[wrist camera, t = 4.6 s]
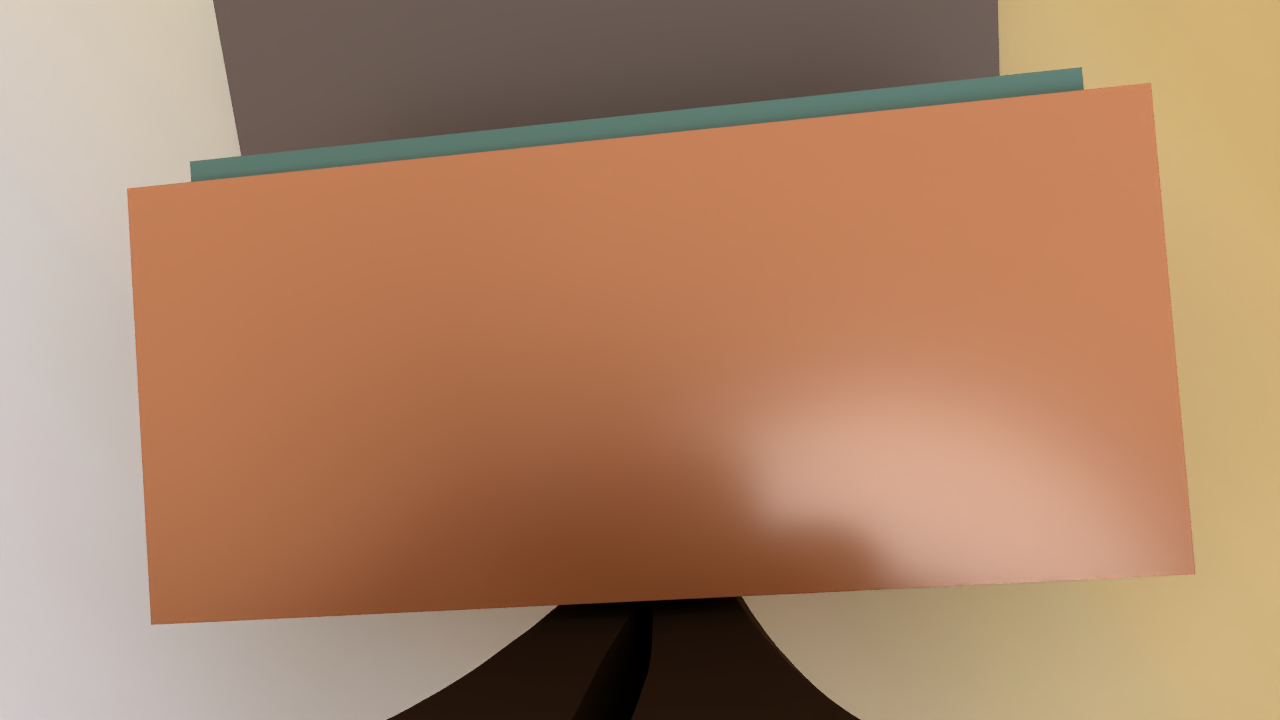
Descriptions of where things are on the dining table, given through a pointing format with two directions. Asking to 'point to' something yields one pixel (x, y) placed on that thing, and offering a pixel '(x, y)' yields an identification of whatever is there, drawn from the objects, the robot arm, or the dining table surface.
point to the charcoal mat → (568, 60)
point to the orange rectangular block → (665, 358)
